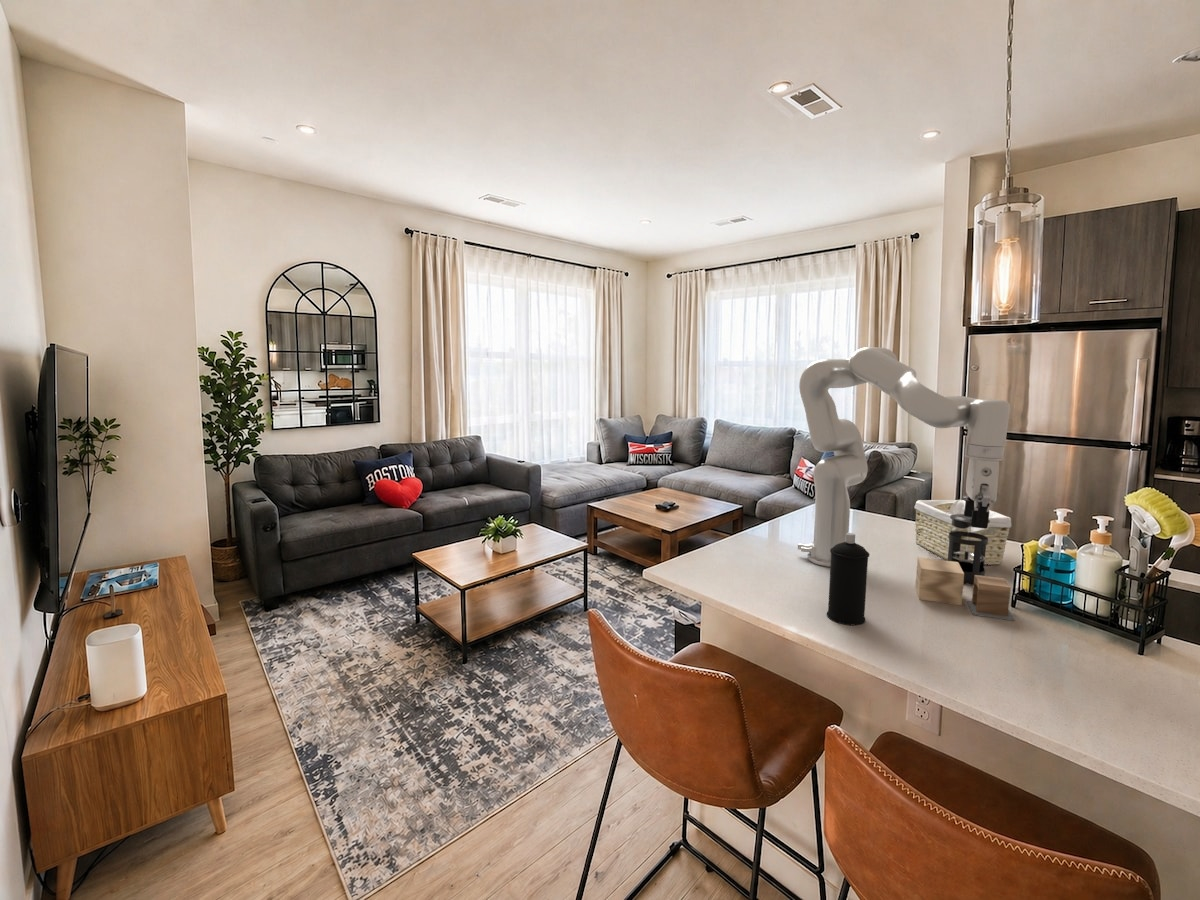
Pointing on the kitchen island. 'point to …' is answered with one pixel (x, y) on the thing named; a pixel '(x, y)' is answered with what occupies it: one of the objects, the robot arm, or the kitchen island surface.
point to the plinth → (939, 581)
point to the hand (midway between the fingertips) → (975, 521)
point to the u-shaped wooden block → (991, 595)
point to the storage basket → (938, 527)
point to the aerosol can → (848, 582)
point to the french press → (967, 560)
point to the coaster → (973, 610)
